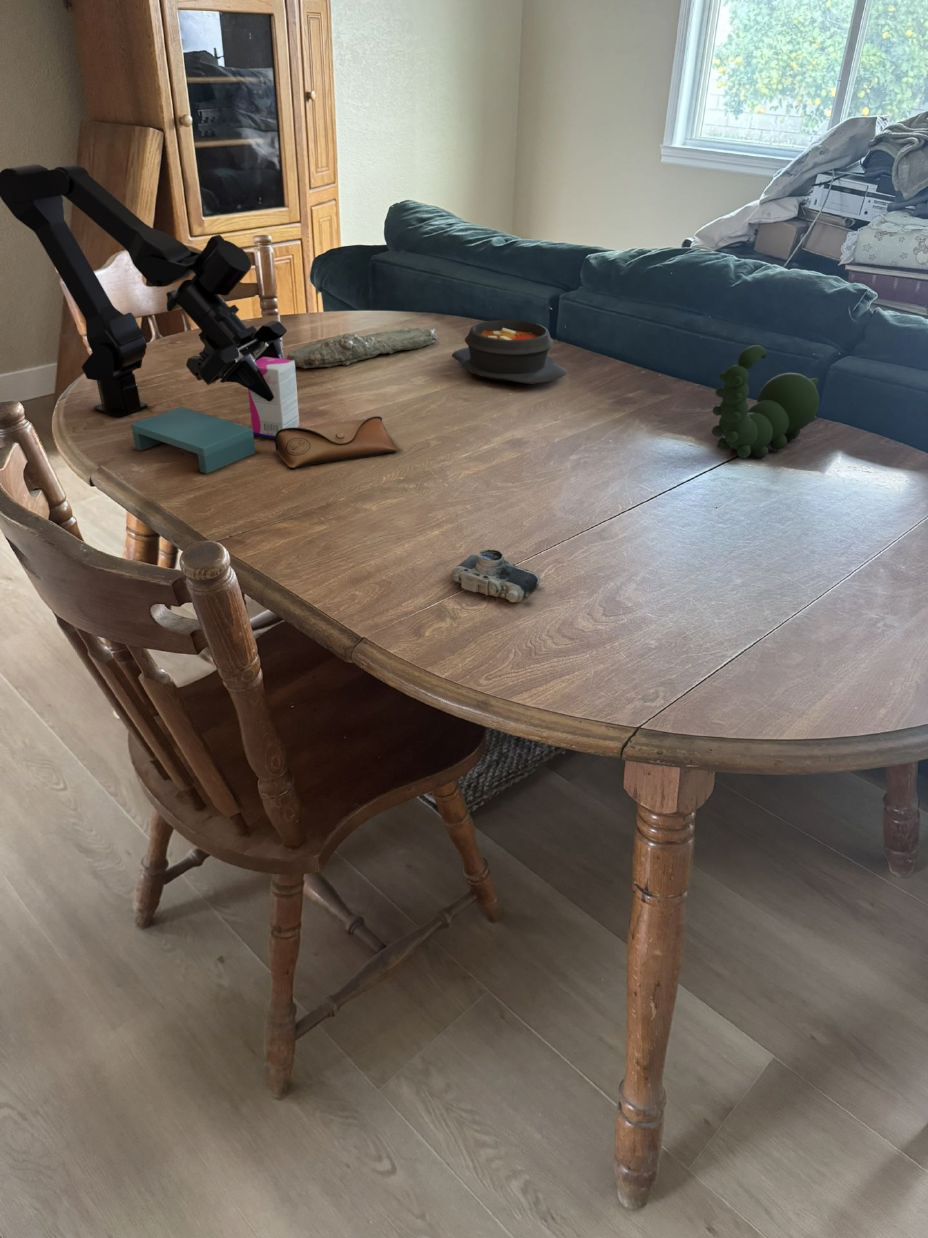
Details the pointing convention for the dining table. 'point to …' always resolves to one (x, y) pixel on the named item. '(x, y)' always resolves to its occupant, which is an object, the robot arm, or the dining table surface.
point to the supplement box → (275, 398)
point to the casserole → (509, 352)
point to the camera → (495, 576)
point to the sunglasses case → (333, 442)
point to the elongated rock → (360, 347)
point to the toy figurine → (762, 408)
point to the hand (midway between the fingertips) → (281, 393)
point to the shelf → (197, 436)
